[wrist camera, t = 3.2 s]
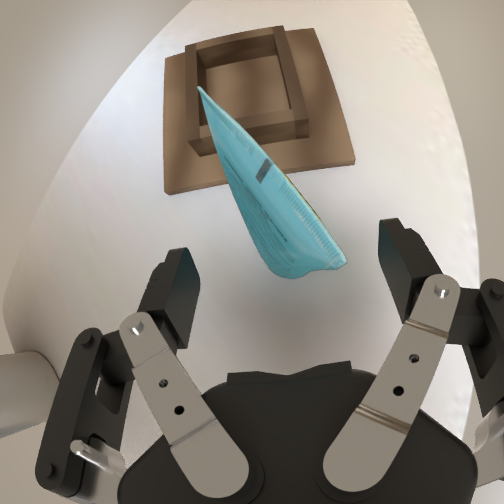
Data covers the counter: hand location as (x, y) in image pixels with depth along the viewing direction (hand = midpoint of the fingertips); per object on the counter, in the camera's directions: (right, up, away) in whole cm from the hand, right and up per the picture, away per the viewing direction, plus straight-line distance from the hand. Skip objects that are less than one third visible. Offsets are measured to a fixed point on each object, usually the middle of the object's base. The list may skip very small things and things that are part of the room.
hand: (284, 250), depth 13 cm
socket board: (-2, +16, +17) cm, 23 cm away
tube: (+2, 0, +15) cm, 15 cm away
